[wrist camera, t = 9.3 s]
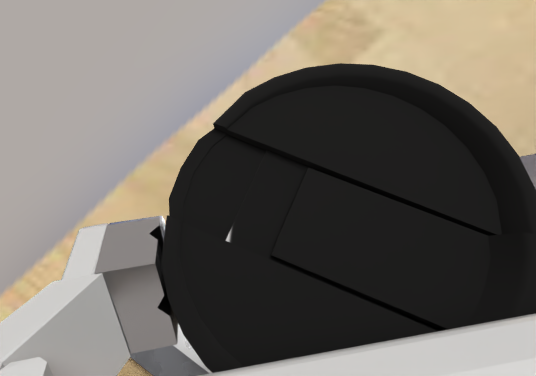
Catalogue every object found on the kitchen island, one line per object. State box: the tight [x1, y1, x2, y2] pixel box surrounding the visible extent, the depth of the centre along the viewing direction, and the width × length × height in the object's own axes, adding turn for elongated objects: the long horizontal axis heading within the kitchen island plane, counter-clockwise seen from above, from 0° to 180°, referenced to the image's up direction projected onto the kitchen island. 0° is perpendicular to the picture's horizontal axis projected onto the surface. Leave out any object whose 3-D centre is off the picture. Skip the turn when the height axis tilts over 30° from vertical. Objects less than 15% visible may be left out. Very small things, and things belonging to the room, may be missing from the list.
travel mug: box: [161, 64, 536, 373], centre depth 17 cm, size 6×7×20 cm
